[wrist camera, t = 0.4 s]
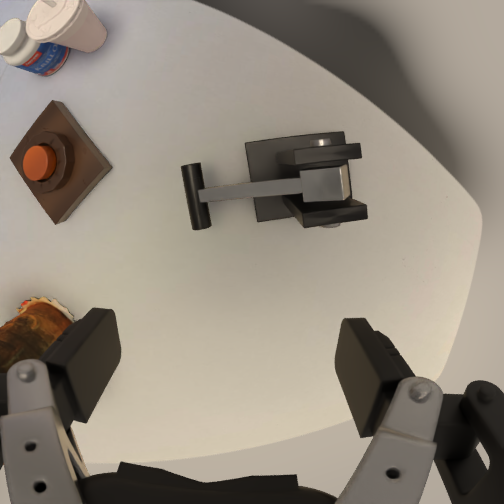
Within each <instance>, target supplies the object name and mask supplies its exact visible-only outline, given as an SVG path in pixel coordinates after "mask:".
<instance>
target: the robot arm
mask: <svg viewBox="0 0 504 504" xmlns="http://www.w3.org/2000/svg"><path fill="white" fill-rule="evenodd" d="M120 358H121V344H120V339H119V333H118V328H117V322H116V316H115V313H114V311H113V310H112V309H103V308H92V309H91V310H90V311H89V312H88V313H87V314H86V315H85V316H84V317H83V318H82V319H79V320H78V321H76V322H74V323H72V324H70V325H69V326H68V327H67V328H66V329H65V330H64V331H63V332H62V334H61V335H60V336H59V337H58V338H57V340H56V341H54V342H53V343H52V344H51V346H50V347H49V348H48V349H47V350H46V351H45V352H44V353H43V355H42V356H41V357H40V358H39V359H38V360H37V359H26V360H22V361H19V362H17V363H16V364H14V365H13V366H12V367H11V368H10V369H9V370H8V373H0V469H1V467H2V466H3V464H4V468H5V475H6V480H7V486H8V492H9V496H10V501H11V504H419V501H420V499H421V496H422V493H423V490H424V487H425V484H426V481H427V478H428V475H429V472H430V469H431V465H432V462H433V460H434V462H435V464H436V466H437V468H438V471H439V473H440V476H441V478H442V480H443V483H444V485H445V488H446V490H447V492H448V495H449V497H450V500H451V503H452V504H504V393H503V392H502V391H501V390H500V389H499V388H498V387H497V386H496V385H494V384H492V383H490V382H487V381H481V380H478V381H473V382H471V383H470V384H469V385H468V386H467V388H466V390H465V392H464V394H463V395H462V394H443V392H442V390H441V388H440V387H439V386H438V385H437V384H436V383H435V382H433V381H432V380H429V379H427V378H423V377H416V376H415V374H414V373H413V372H412V370H411V369H410V367H409V366H408V364H407V363H406V362H405V360H404V359H403V357H402V356H401V355H400V353H399V352H398V350H397V349H396V348H395V346H394V345H393V343H392V342H391V340H390V339H389V338H388V337H387V336H385V335H384V334H382V333H381V332H379V331H374V330H373V329H372V327H371V326H370V324H369V323H368V321H367V320H366V319H365V318H344V319H343V321H342V323H341V328H340V333H339V339H338V344H337V349H336V354H335V370H336V374H337V376H338V379H339V382H340V384H341V387H342V389H343V392H344V395H345V397H346V400H347V403H348V405H349V408H350V411H351V413H352V416H353V419H354V421H355V424H356V427H357V429H358V432H359V435H360V438H364V437H371V436H373V439H372V441H371V443H370V445H369V447H368V448H367V450H366V452H365V454H364V456H363V458H362V460H361V461H360V463H359V465H358V466H357V468H356V470H355V472H354V473H353V475H352V477H351V478H350V480H349V482H348V483H347V485H346V487H345V488H344V490H343V491H342V493H341V494H340V496H339V498H336V497H334V496H332V495H330V494H328V493H325V492H323V491H320V490H316V489H312V488H308V487H303V486H298V481H297V475H296V474H295V475H274V476H273V475H270V476H248V477H242V478H237V479H230V480H224V481H217V482H209V483H205V482H204V483H203V482H199V481H196V480H193V479H189V478H186V477H183V476H180V475H177V474H174V473H171V472H168V471H166V470H163V469H159V468H153V467H147V466H141V465H136V464H130V463H125V462H120V465H119V468H118V471H117V472H111V473H102V474H96V475H92V476H90V475H89V473H88V470H87V468H86V466H85V463H84V460H83V458H82V455H81V452H80V450H79V447H78V444H77V441H76V438H75V435H74V432H73V430H72V428H71V424H72V422H73V420H75V421H78V422H82V423H87V422H88V420H89V418H90V416H91V414H92V412H93V410H94V408H95V406H96V404H97V402H98V401H99V399H100V397H101V395H102V393H103V391H104V389H105V388H106V386H107V384H108V382H109V380H110V378H111V377H112V375H113V373H114V371H115V369H116V368H117V366H118V364H119V362H120ZM479 442H481V444H482V445H483V447H484V449H485V450H486V452H487V454H488V456H489V459H490V466H489V469H488V470H487V468H486V466H485V464H484V463H483V461H482V459H481V457H480V455H479V453H478V452H477V450H476V446H477V445H478V444H479Z"/></svg>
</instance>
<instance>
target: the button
mask: <svg viewBox="0 0 504 504" xmlns="http://www.w3.org/2000/svg"><path fill="white" fill-rule="evenodd" d="M55 167H56V155H55V152H54V150H53V149H52V148H51V147H49V146H33V147H31V148H30V149H29V150H28V151H27V152H26V154H25V157H24V160H23V169H24V173H25V175H26V176H27V177H28V178H29V179H30V180H33V181H37V180H42V179H47V178H49V177H50V176H51V175H52V174H53V172H54V170H55Z"/></svg>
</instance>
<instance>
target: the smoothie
mask: <svg viewBox="0 0 504 504" xmlns="http://www.w3.org/2000/svg"><path fill="white" fill-rule="evenodd" d="M26 32H27V35H28V36H29V37H30V38H31V39H33V40H34V41H36V42H38V43H46V42H51V43H55V44H59V45H63V46H66V47H70V48H73V49H77V50H80V51H83V52H87V53H89V52H93V51H95V50H97V49H99V48H100V47H101V46H102V45H103V43H104V42H105V40H106V37H107V31H106V29H105V27H104V26H103V25H102V23H101V22H100V21H99V19H98V18H97V16H96V15H95V14H94V12H93V11H92V10H91V8H90V7H89V5H88V4H87V3H86V1H85V0H38V1H37V2H36V3H35V4H34V6H33V7H32V9H31V11H30V13H29V15H28V17H27V21H26Z"/></svg>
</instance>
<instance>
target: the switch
mask: <svg viewBox="0 0 504 504" xmlns="http://www.w3.org/2000/svg"><path fill="white" fill-rule="evenodd" d="M181 171H182V177H183V182H184V188H185V193H186V198H187V204H188V209H189V214H190V219H191V224H192V229H193V230H202V229H206V228H209V227H211V226H212V224H211V218H210V213H209V208H208V202H213V201H222V200H232V199H242V198H252V197H263V196H275V195H287V194H300V193H303V201H304V203H309V202H326V201H344V200H345V199H346V198H347V197H348V196H349V195H350V188H349V179H348V170H347V165H346V164H344V165H332V166H320V167H310V168H306V169H303V170H300V177H291V178H282V179H272V180H263V181H255V182H246V183H238V184H230V185H223V186H216V187H208V188H205V185H204V180H203V174H202V168H201V163H193V164H188V165H184V166H181Z"/></svg>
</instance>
